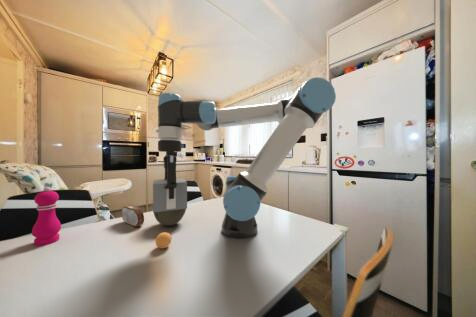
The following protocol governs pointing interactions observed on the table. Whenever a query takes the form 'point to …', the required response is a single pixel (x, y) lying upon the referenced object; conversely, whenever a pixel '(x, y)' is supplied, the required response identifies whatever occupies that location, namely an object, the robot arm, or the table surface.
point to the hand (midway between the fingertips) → (169, 204)
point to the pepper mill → (46, 218)
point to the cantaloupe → (169, 216)
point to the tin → (132, 215)
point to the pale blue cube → (161, 195)
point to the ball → (163, 240)
